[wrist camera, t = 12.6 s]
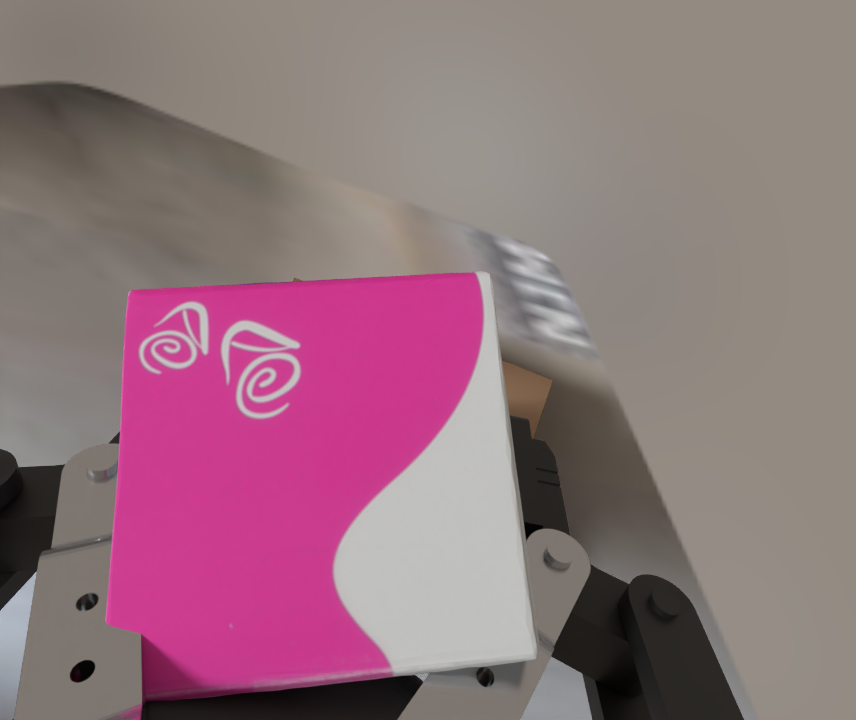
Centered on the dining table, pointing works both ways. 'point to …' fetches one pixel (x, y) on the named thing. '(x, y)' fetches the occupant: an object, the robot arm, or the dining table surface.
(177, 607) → the supplement box
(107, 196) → the dining table surface
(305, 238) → the dining table surface
